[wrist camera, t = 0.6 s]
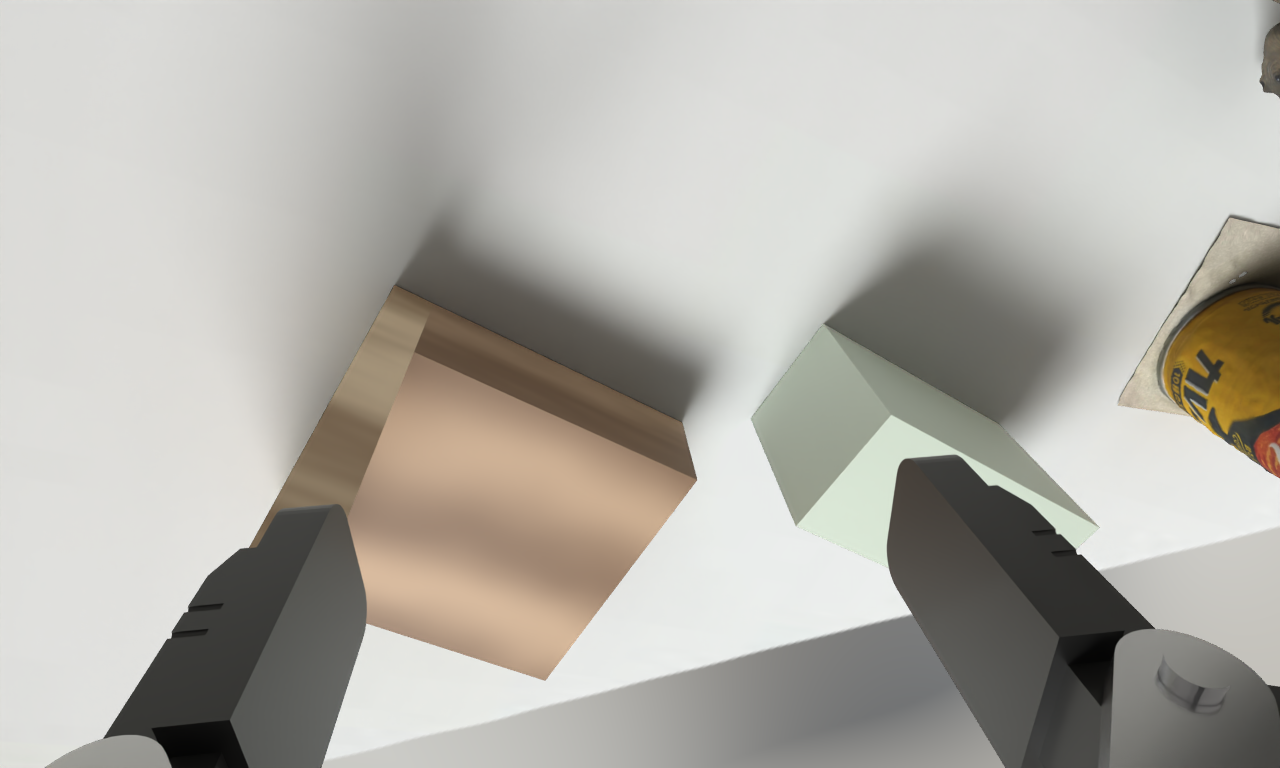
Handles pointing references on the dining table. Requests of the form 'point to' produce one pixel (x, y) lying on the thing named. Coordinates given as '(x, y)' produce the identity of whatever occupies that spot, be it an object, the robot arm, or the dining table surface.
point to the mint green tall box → (883, 445)
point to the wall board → (355, 412)
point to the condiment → (1223, 347)
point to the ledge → (508, 498)
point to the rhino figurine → (1271, 61)
